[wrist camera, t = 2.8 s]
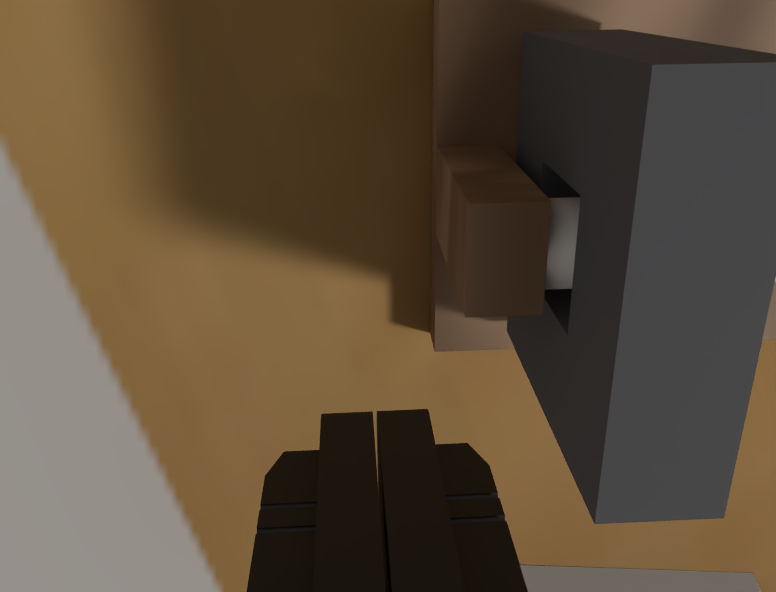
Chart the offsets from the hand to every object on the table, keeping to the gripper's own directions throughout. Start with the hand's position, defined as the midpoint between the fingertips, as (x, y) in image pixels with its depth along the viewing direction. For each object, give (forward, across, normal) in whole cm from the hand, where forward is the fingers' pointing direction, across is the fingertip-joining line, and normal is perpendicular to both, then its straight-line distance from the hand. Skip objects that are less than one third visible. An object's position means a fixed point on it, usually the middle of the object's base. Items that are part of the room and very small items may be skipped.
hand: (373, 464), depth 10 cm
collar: (+14, -7, 0) cm, 16 cm away
